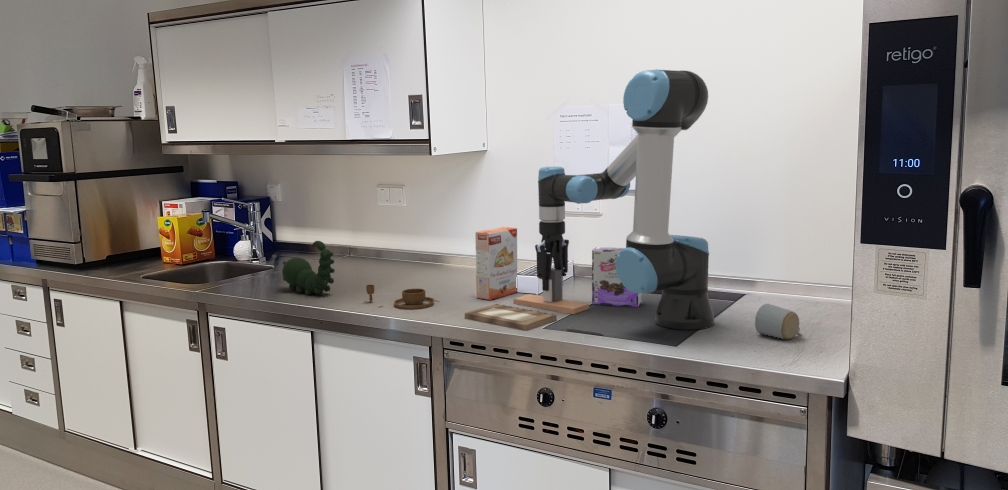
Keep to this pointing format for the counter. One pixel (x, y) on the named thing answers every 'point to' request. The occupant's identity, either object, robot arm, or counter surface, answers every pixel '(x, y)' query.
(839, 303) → the counter surface
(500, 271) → the cracker box
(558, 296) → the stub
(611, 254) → the candy box
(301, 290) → the toy figurine
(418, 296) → the place setting
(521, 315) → the board
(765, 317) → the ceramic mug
